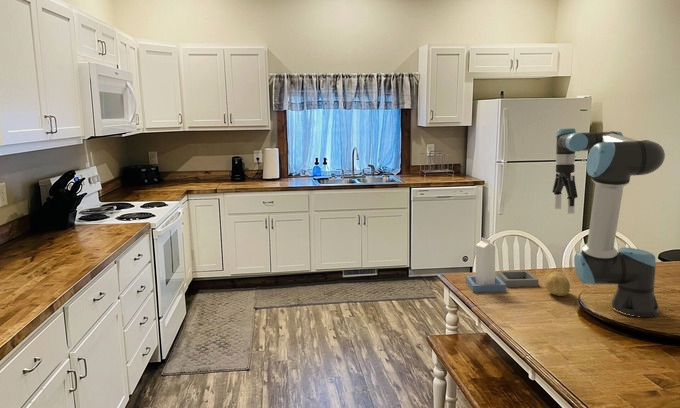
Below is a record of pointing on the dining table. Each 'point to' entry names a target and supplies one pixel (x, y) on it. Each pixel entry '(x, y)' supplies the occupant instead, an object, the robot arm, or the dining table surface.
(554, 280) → the potato
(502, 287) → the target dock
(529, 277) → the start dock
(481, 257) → the milk
